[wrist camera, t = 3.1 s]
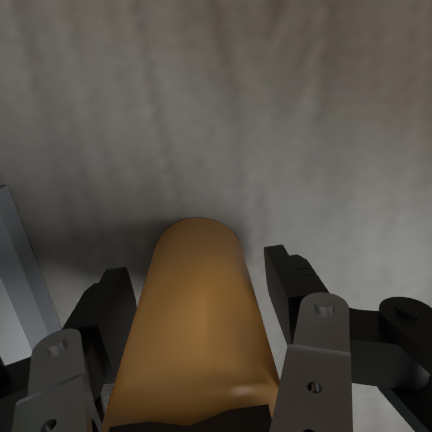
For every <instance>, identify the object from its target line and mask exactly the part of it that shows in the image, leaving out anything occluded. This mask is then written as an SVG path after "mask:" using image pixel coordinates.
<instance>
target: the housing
mask: <svg viewBox="0 0 432 432" xmlns="http://www.w3.org/2000/svg"><path fill="white" fill-rule="evenodd" d="M59 330H62V328H61V326H60V323H59V320H58V318H57V315H56V312H55V310H54V307H53V304H52V302H51V299H50V296H49V294H48V291H47V288H46V286H45V283H44V280H43V278H42V275H41V272H40V270H39V267H38V264H37V262H36V259H35V256H34V254H33V251H32V248H31V246H30V243H29V240H28V238H27V235H26V232H25V230H24V227H23V224H22V222H21V219H20V216H19V214H18V211H17V208H16V206H15V203H14V200H13V198H12V195H11V192H10V190H9V187H8V185H6V186H0V357H1V359H2V361H3V363H4V365H5V366H6V365H8V364H11V363H14V362H17V361H20V360H22V359H25V358H28V357H30V356H31V354H32V351H33V348H34V347H35V346H36V345H37V343H38V342H40V341H41V340H42V339H43V338H45V337H46V336H48V335H50V334H52V333H54V332H56V331H59Z"/></svg>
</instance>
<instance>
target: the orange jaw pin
mask: <svg viewBox="0 0 432 432" xmlns="http://www.w3.org/2000/svg"><path fill="white" fill-rule="evenodd" d="M279 384H280V380H279V376H278V373H277V369H276V366H275V362H274V359H273V355H272V352H271V348H270V345H269V341H268V338H267V334H266V331H265V327H264V324H263V321H262V317H261V314H260V310H259V307H258V303H257V300H256V296H255V293H254V289H253V286H252V282H251V279H250V275H249V272H248V268H247V265H246V261H245V258H244V254H243V251H242V247H241V245H240V242H239V240H238V238H237V237H236V235H235V234H234V233H233V232H232V231H231V230H230V229H229V228H228V227H227V226H225V225H223V224H222V223H220V222H218V221H215V220H212V219H208V218H190V219H185V220H182V221H179V222H177V223H175V224H173V225H172V226H170V227H169V228H168V229H167V230H166V231H165V232H164V233H163V234H162V235H161V237H160V238H159V240H158V242H157V244H156V246H155V250H154V253H153V256H152V260H151V263H150V266H149V270H148V273H147V276H146V280H145V283H144V286H143V290H142V293H141V296H140V300H139V303H138V306H137V310H136V313H135V316H134V320H133V323H132V326H131V330H130V333H129V336H128V340H127V343H126V346H125V350H124V353H123V356H122V360H121V363H120V366H119V370H118V373H117V376H116V380H115V383H114V386H113V390H112V393H111V396H110V399H109V403H108V406H107V409H106V413H105V416H104V419H103V423H102V431H101V432H108V431H109V427H113V426H120V425H126V424H133V423H140V422H147V421H150V422H159V423H167V424H176V425H185V426H188V425H192V424H195V423H197V422H200V421H202V420H205V419H207V418H210V417H212V416H215V415H217V414H220V413H222V412H225V411H227V410H230V409H237V408H244V407H251V406H258V405H265V404H268V405H269V409H270V414H271V418H272V417H273V412H274V408H275V403H276V398H277V393H278V389H279Z"/></svg>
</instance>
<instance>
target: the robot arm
mask: <svg viewBox="0 0 432 432" xmlns="http://www.w3.org/2000/svg"><path fill="white" fill-rule="evenodd" d="M264 258H265V269H266V280H267V287H268V292H269V296H270V299H271V302H272V304H273V307H274V310H275V313H276V315H277V318H278V321H279V324H280V326H281V329H282V332H283V335H284V338H285V340H286V343H287V346H288V347H287V351H286V355H285V360H284V365H283V370H282V374H281V379H280V384H279V389H278V393H277V398H276V403H275V408H274V412H273V417H272V418H271V414H270V409H269V405H268V404H265V405H258V406H251V407H244V408H237V409H230V410H227V411H225V412H222V413H220V414H217V415H215V416H212V417H210V418H207V419H205V420H202V421H200V422H197V423H195V424H192V425H188V426H185V425H176V424H167V423H159V422H150V421H147V422H140V423H133V424H126V425H120V426H113V427H109V431H108V432H353V417H352V383H357V384H364V385H371V386H377V387H378V389H379V390H380V391H381V393H382V394H383V395H384V396H385V397H386V398H387V400H388V401H389V402H390V403H391V404H392V405H393V407H394V408H395V409H396V410H397V411H398V412H399V414H400V415H401V416H402V417H403V418H404V419H405V421H406V422H407V423H408V424H409V425H410V426H411V428H412V429H413V430H414V431H415V432H432V308H431V307H430V306H428V305H426V304H425V303H423V302H421V301H418V300H415V299H412V298H407V297H391V298H388V299H385V300H383V301H382V302H381V303H380V306H379V311H368V310H357V309H352V308H349V306H348V304H347V302H346V301H345V300H344V299H342V298H341V297H339V296H337V295H334V294H331V293H329V292H328V290H327V289H326V287H325V286H324V284H323V283H322V281H321V280H320V278H319V277H318V275H316V272H315V271H314V269H312V266H311V265H310V264H309V262H308V261H307V260H306V259H305V258H303V257H301V256H299V255H291V256H289V255H288V253H287V251H286V249H285V248H284V246H283V245H276V246H269V247H264ZM136 310H137V306H136V299H135V295H134V291H133V288H132V284H131V280H130V276H129V272H128V270H127V268H126V267H121V268H114V269H107V270H106V271H105V273H104V274H103V276H102V278H101V280H100V282H99V283H94V284H93V285H92V286H91V287H89V288H88V289H87V290H86V291H85V292H84V293H83V295H82V297H81V298H80V300H79V302H78V303H77V305H76V307H75V309H74V310H73V312H72V313H71V315H70V317H69V318H68V320H67V322H66V323H65V325H64V327H63V328H62V330H59V331H56V332H54V333H52V334H50V335H48V336H46V337H45V338H43V339H42V340H41V341H40V342H38V343H37V345H36V346H35V347H34V348H33V351H32V354H31V356H30V357H28V358H25V359H22V360H20V361H17V362H14V363H11V364H8V365H6V366H5V365H4V363H3V361H2V359H1V357H0V432H101V431H102V423H103V419H104V416H105V413H106V411H105V405H104V400H103V397H102V394H101V391H102V388H103V385H104V384H109V383H115V380H116V376H117V373H118V370H119V366H120V363H121V360H122V356H123V353H124V350H125V346H126V343H127V340H128V336H129V333H130V330H131V326H132V323H133V320H134V316H135V313H136Z"/></svg>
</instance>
